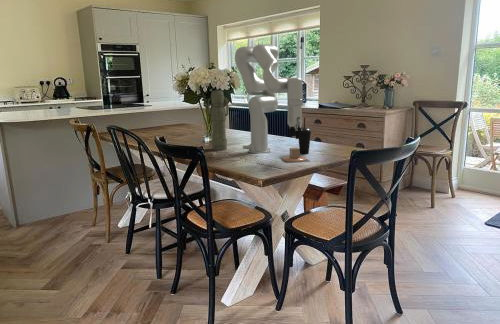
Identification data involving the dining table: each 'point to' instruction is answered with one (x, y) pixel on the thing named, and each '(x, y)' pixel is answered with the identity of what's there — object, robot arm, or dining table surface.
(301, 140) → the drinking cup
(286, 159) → the lid
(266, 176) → the dining table surface
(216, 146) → the thermos
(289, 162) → the mat
